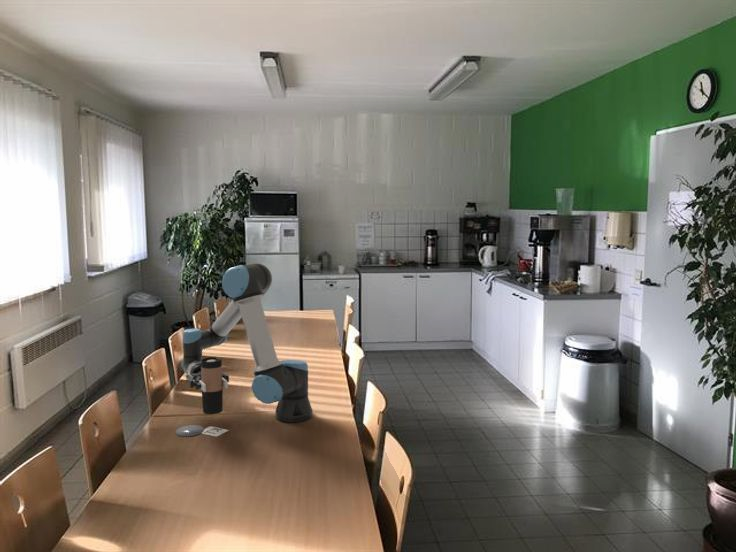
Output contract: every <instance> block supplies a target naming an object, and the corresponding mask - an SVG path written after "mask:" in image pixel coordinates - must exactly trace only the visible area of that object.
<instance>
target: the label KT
mask: <svg viewBox="0 0 736 552" xmlns="http://www.w3.org/2000/svg"><path fill="white" fill-rule="evenodd" d="M203 429H204V430H203V432H202V433H201V434H202V435H207V436H211V437H216V438H217V437H219V436H221V435H223V434H224V433H226V432H228V431H230V430H229V429H224V428H222V427H221V428H220V427H216V426H211V425H210V426H207V427H206V428H203Z"/></svg>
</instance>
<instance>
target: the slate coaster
mask: <svg viewBox="0 0 736 552" xmlns="http://www.w3.org/2000/svg"><path fill="white" fill-rule="evenodd" d="M204 429H205V428H204V427H203V426H201V425H198V424H197V425H195V424H190V425H185V426H182V427H181V426H180V427H179V428H177V429H176V431H175V434H176V435H177V436H179V437H186V438H187V437H195V436H198V435H201V434H202V432H203V430H204Z"/></svg>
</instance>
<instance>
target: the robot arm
mask: <svg viewBox="0 0 736 552" xmlns="http://www.w3.org/2000/svg"><path fill="white" fill-rule="evenodd" d="M221 282H222V283H221V286H222V290H223V292H224V293H225V295H227V296H228V297H230V298H232V300H231V301H230V303H229V304H228V305H227V306H226V307H225V308H224V310H223V311H222V313H220V315H219V316H218V317H217V319H216V320H215V321H213V323H212V325H211V326H210V327H209V328H208V329H205V330H201V329H200V328H186V329H184V331H183V332H182V351H183V358H182V361H181V364H180V365H181V368H182V370H183V372H184V373H185V374H186V375H185V382H186V383H188V385H189V388H192V389H193V388H194V387H195V390H201V392H202V391H203V392H206V384H204V383H203V382H202V381H201V360H202V359H203V350H205V349H209V348H212V347H216V346H220V345H222V344H224V343H225V342H226V341H227V340H228V336H229V335H228V334H229V333H230V331H232V330H233V328H234V327H235V326H236V325H237V323H238V322H239V321H240V320H242V322H243V326H244V329H245V333H246V336H247V339H248V343H249V346H250V350H251V354H252V357H253V360H254V365H255V368H254V370H253V374H254V378H253V380H252V383H251V392H252V393H253V395H254V397H255V398H256V399H257V400H258V401H260V402H261V403H262V404H268V405H269V404H270V405H271V404H274V403H277V405H276V407H275V412H274V414H275V419H276V420H277V421H279V422H283V423H284V422H285V423H300V422H304V421H308V420H310V419H311V418H312V417H313V413H314V411H313V408H312V405H311V401H310V399H309V366H308V365H309V364H308V363H307V362H306V361H304V360H298V359H282V360H279V359H278V356H277V353H276V349H275V346H274V342H273V339H272V335H271V332H270V328H269V325H268V322H267V319H266V313H265V311H264V308H263V304H262V298H263V296H264V295H265V294H267V292H268V291H269V289H270V287H271V286H272V282H273V275H272V273H271V271H270V269H269V268H268V267H267V266H266V265H264V264H261V263H251V264H239V265H236V266H233V267H230V268H228V269H226V271H225V273H224V275H223V277H222V281H221ZM229 382H230V377H229V375H228V374H226V373H225V372H222V386H223V389H228V383H229Z"/></svg>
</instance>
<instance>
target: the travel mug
mask: <svg viewBox="0 0 736 552" xmlns="http://www.w3.org/2000/svg"><path fill="white" fill-rule="evenodd" d="M222 363H223V362H222V358H221V357H220V358H217V357H214V356H211V357H205V358H202V360H201V381H202V382H203V383H204V384H206V392H203V391H202V390H201V400H202V412H203V414H205V415H216V414H220V413H221V412H223V399H224V398H223V389H224V387H223V386H222V373H223V368H222V367H223V365H222Z"/></svg>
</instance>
